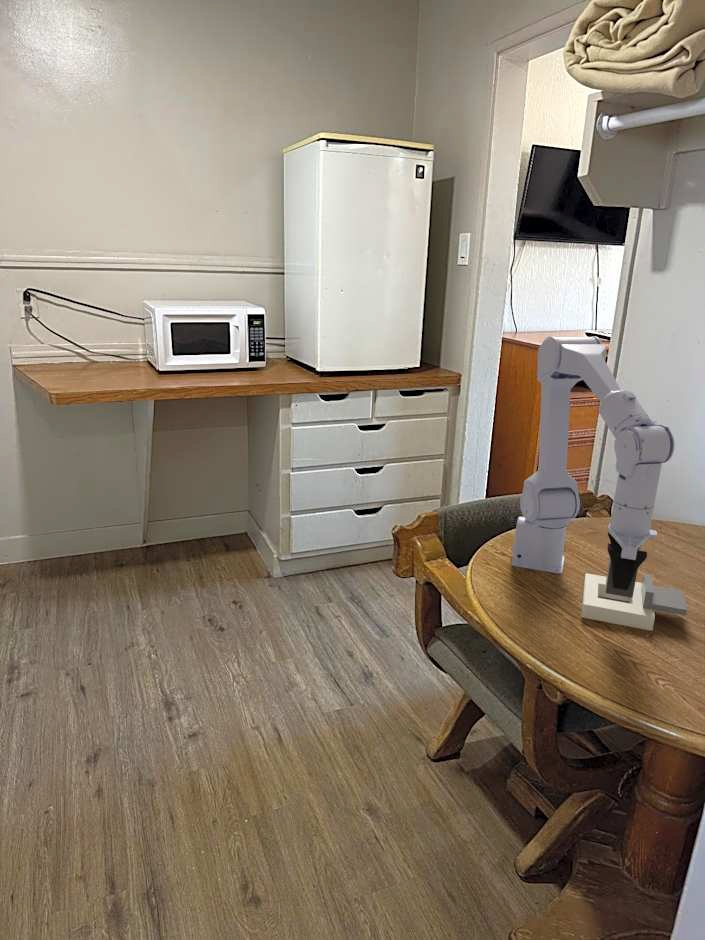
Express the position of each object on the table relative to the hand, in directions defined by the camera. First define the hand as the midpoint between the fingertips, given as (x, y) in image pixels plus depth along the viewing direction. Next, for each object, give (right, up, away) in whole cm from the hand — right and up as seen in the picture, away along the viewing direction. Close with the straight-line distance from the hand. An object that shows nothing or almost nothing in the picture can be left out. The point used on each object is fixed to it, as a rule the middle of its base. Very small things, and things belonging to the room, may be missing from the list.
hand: (620, 581), depth 107 cm
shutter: (+10, -4, +6) cm, 12 cm away
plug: (0, -1, 0) cm, 1 cm away
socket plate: (+3, -6, +9) cm, 11 cm away
